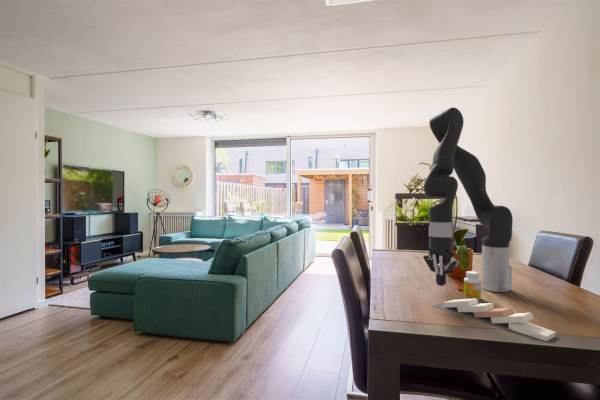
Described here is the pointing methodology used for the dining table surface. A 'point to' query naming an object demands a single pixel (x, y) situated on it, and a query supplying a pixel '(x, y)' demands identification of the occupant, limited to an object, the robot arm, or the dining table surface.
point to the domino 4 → (513, 318)
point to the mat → (471, 316)
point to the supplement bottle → (472, 285)
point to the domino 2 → (477, 308)
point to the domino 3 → (494, 312)
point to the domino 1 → (460, 303)
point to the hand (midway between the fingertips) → (441, 285)
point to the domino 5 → (532, 330)
